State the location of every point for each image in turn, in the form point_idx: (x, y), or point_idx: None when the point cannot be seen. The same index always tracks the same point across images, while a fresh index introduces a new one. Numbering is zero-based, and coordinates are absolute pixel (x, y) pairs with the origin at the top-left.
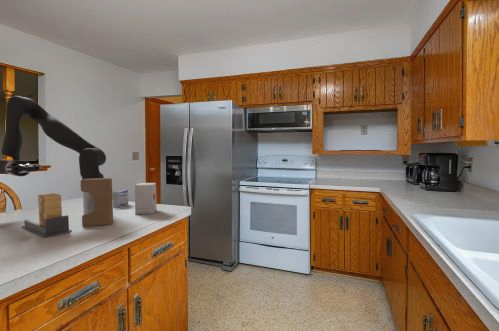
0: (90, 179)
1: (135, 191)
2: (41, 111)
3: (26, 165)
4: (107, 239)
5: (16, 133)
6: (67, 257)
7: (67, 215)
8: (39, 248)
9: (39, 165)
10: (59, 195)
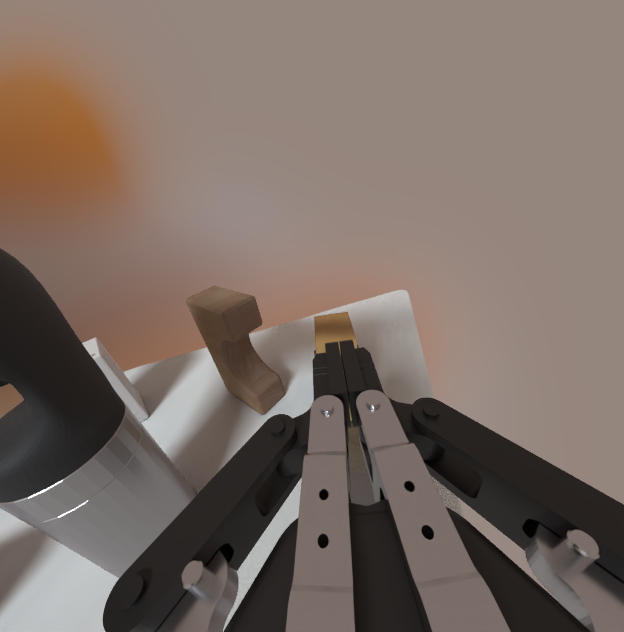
0: (235, 293)
1: (112, 369)
2: None
3: (351, 541)
4: (302, 322)
5: None
6: (356, 302)
7: (315, 351)
8: (376, 333)
9: (189, 508)
10: (317, 317)
